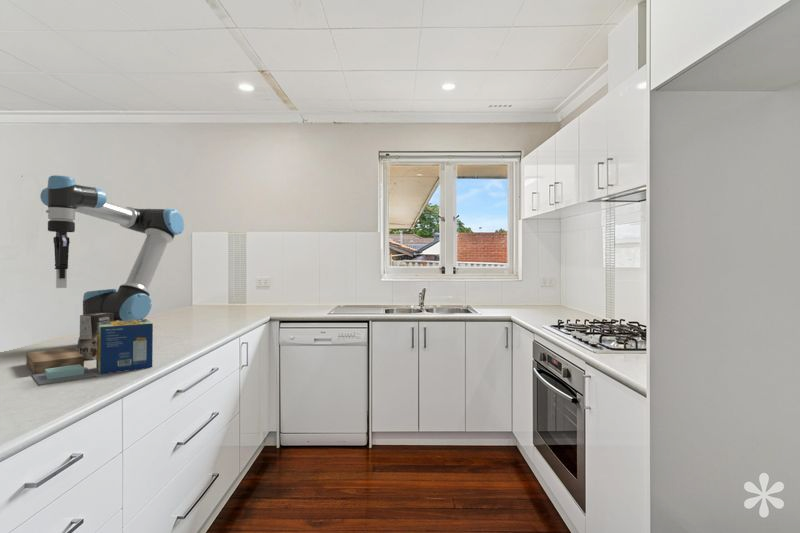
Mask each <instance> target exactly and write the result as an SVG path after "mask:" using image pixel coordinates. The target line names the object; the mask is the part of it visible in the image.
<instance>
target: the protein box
mask: <svg viewBox="0 0 800 533" xmlns="http://www.w3.org/2000/svg"><path fill="white" fill-rule="evenodd" d="M96 324H97V349H96V359H95V361H96V365H95V366H96V369H97V372H98V373H99V375H104V374H103V373H106V374H110V373H109V372H113V373H118V372H117V371H121V372H126V371H125V370H129V371H135V370H134V369H137V370H143V369H142V368H144V369H151V368H150V367H152V368H153V351H154V350H153V345H154V344H153V343H154V342H153V338H154V336H153V335H154V334H153V332H154V329H153V328H154V325H153V322H151V321H149V320H148V319H147V318H144V319H142V320H128V321H114V322H99V323H96Z"/></svg>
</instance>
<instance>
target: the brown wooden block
mask: <svg viewBox="0 0 800 533" xmlns="http://www.w3.org/2000/svg"><path fill="white" fill-rule="evenodd" d="M25 356H26V357H25V359H26V362H25V365H26V366H27V367H28V369H29V370H30V372H31V373H32V375H34V374H41V373H45V369H49V368H56V367H64V366H71V365H79V364H80V365H81V366H83V367H85V359H84V356H83V355H82V354H80V353H79V351H78V350H77V349H76V348H74V347H67V348H59V349H49V350H41V351H31V352H30V351H29V352H25Z"/></svg>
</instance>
